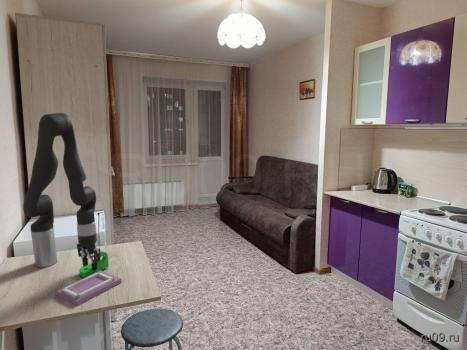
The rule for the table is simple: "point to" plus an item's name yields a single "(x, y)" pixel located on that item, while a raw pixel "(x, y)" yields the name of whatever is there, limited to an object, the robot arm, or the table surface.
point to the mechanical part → (101, 265)
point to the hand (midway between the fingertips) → (90, 267)
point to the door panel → (88, 287)
